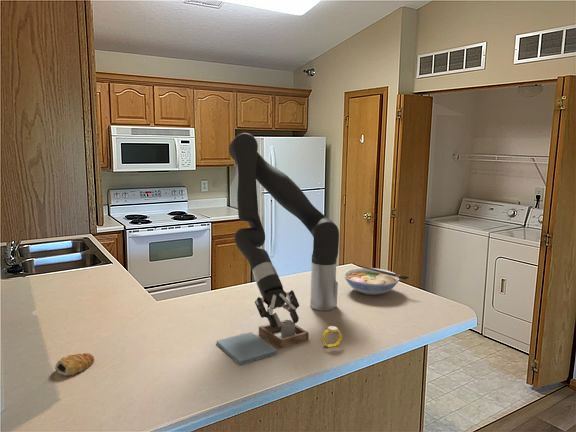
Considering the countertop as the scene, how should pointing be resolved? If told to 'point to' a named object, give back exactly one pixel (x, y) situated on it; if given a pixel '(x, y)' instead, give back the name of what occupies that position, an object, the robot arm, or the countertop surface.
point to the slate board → (246, 348)
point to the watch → (332, 329)
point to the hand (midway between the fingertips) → (286, 324)
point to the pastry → (74, 364)
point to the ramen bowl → (372, 280)
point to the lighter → (285, 327)
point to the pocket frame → (299, 337)
